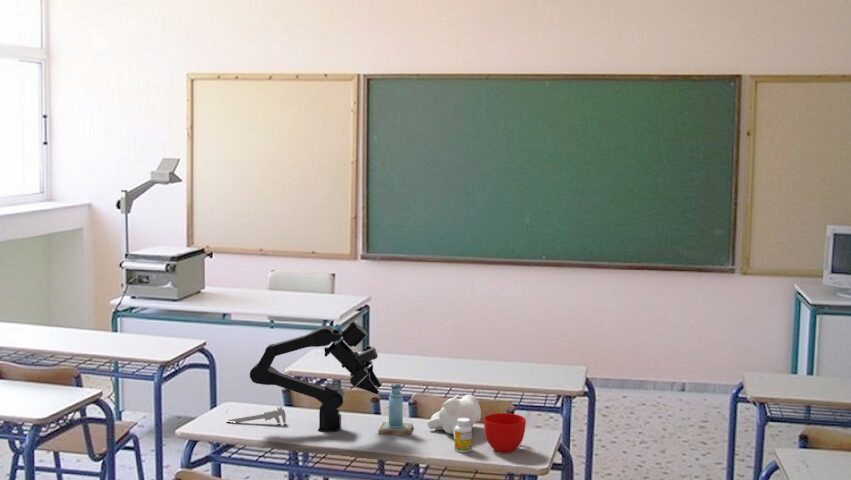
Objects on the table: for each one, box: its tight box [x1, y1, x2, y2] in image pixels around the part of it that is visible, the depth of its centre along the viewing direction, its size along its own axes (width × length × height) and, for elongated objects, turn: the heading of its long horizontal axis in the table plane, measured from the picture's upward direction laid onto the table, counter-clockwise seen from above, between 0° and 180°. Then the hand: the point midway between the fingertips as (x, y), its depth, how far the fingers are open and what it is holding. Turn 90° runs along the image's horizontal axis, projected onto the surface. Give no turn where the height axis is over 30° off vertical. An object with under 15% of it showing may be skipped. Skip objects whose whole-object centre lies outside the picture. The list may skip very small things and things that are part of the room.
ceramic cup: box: [483, 412, 527, 454], centre depth 315 cm, size 13×17×10 cm
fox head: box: [426, 394, 482, 441], centre depth 333 cm, size 13×17×20 cm
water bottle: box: [388, 383, 404, 428], centre depth 334 cm, size 5×5×14 cm
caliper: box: [228, 406, 287, 425], centre depth 341 cm, size 20×1×6 cm, turn 88°
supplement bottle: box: [453, 418, 473, 453], centre depth 313 cm, size 5×5×10 cm
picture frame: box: [377, 421, 414, 436], centre depth 334 cm, size 10×10×1 cm
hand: (379, 389), depth 333 cm, fingers open, 9 cm apart
